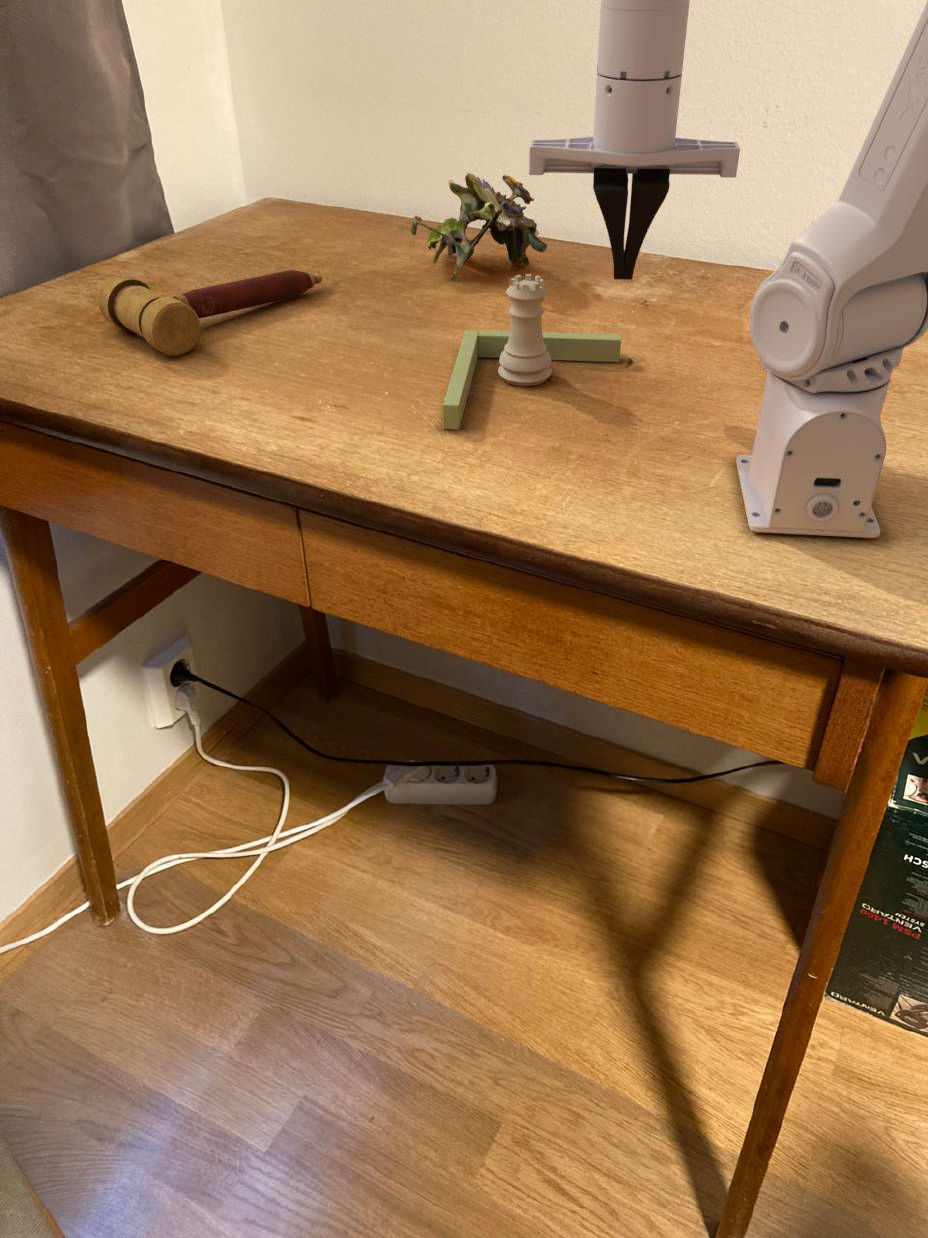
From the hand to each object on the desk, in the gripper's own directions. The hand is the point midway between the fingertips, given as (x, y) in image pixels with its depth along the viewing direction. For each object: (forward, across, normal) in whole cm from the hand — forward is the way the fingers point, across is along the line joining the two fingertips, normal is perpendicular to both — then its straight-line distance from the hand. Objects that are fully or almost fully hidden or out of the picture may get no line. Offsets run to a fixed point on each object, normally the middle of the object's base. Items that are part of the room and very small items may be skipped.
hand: (622, 275), depth 76 cm
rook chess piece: (+9, +7, -1) cm, 12 cm away
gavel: (+9, +36, -12) cm, 38 cm away
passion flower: (+9, +14, -26) cm, 30 cm away
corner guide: (+9, +6, +2) cm, 11 cm away
